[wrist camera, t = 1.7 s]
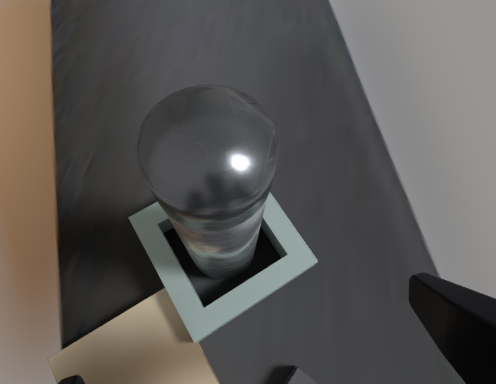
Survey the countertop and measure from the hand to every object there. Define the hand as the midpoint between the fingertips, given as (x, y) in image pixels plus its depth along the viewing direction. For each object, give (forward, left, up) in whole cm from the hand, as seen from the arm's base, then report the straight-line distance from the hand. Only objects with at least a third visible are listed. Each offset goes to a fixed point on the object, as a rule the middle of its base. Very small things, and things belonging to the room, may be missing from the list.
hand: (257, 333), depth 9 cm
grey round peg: (+5, -1, -12) cm, 13 cm away
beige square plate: (+1, +6, -12) cm, 13 cm away
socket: (+5, -1, -12) cm, 13 cm away
